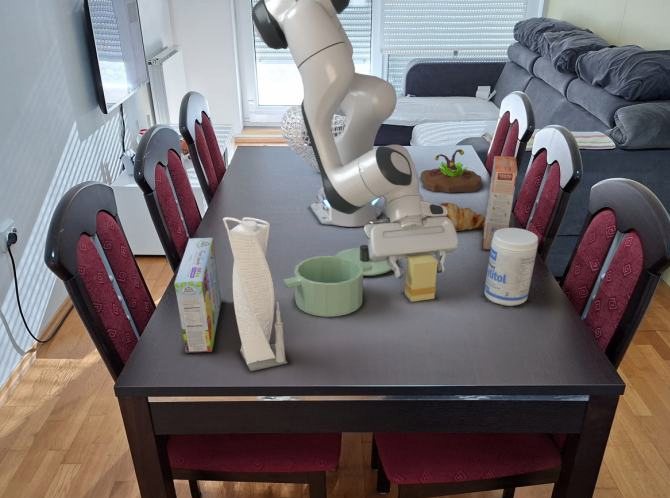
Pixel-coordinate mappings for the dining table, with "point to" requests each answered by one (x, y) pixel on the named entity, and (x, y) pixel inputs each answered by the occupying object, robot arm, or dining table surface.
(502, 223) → the cracker box
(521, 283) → the supplement tub
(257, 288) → the skyscraper
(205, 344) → the snack box
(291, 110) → the heart
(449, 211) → the croissant
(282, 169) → the dining table surface
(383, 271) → the pot lid
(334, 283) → the pot
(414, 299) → the butter
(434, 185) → the plant
